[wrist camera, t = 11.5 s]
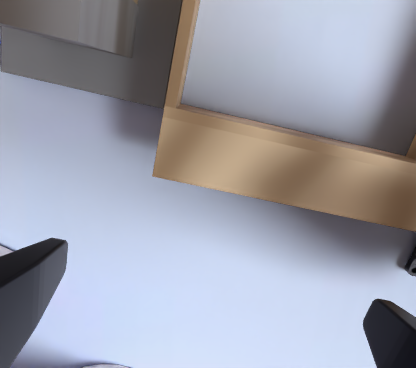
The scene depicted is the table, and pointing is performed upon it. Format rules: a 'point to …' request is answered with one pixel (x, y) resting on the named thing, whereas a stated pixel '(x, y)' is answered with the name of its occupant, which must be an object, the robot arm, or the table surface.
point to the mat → (102, 58)
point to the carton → (278, 157)
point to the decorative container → (105, 366)
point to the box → (76, 22)
